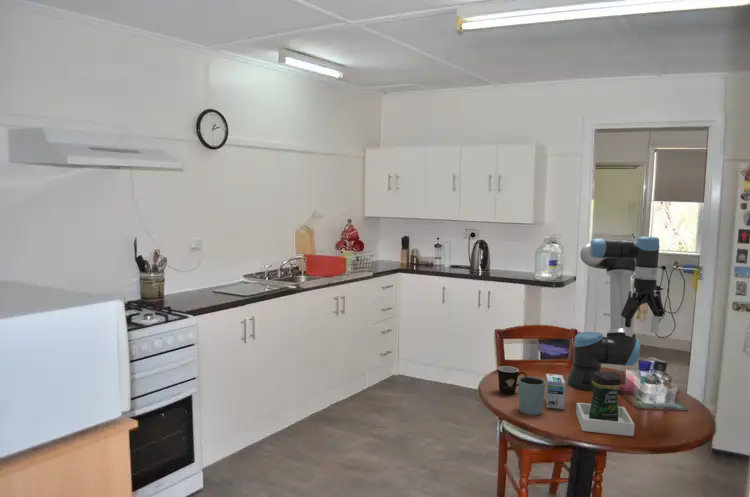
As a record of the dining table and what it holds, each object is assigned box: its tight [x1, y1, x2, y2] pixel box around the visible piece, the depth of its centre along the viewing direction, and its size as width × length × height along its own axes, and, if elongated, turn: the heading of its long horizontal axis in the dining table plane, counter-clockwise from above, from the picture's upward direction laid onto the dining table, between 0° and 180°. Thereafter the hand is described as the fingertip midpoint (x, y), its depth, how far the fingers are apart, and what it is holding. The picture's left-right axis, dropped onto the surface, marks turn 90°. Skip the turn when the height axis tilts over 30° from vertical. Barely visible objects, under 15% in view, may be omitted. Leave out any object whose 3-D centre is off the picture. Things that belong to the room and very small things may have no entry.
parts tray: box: [575, 402, 636, 437], centre depth 211 cm, size 17×17×4 cm
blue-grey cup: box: [517, 376, 546, 416], centre depth 223 cm, size 10×10×12 cm
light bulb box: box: [544, 373, 566, 410], centre depth 231 cm, size 11×7×11 cm, turn 168°
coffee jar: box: [589, 371, 622, 422], centre depth 210 cm, size 10×8×19 cm
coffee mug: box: [497, 365, 528, 396], centre depth 242 cm, size 12×9×10 cm
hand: (641, 334), depth 217 cm, fingers open, 13 cm apart
